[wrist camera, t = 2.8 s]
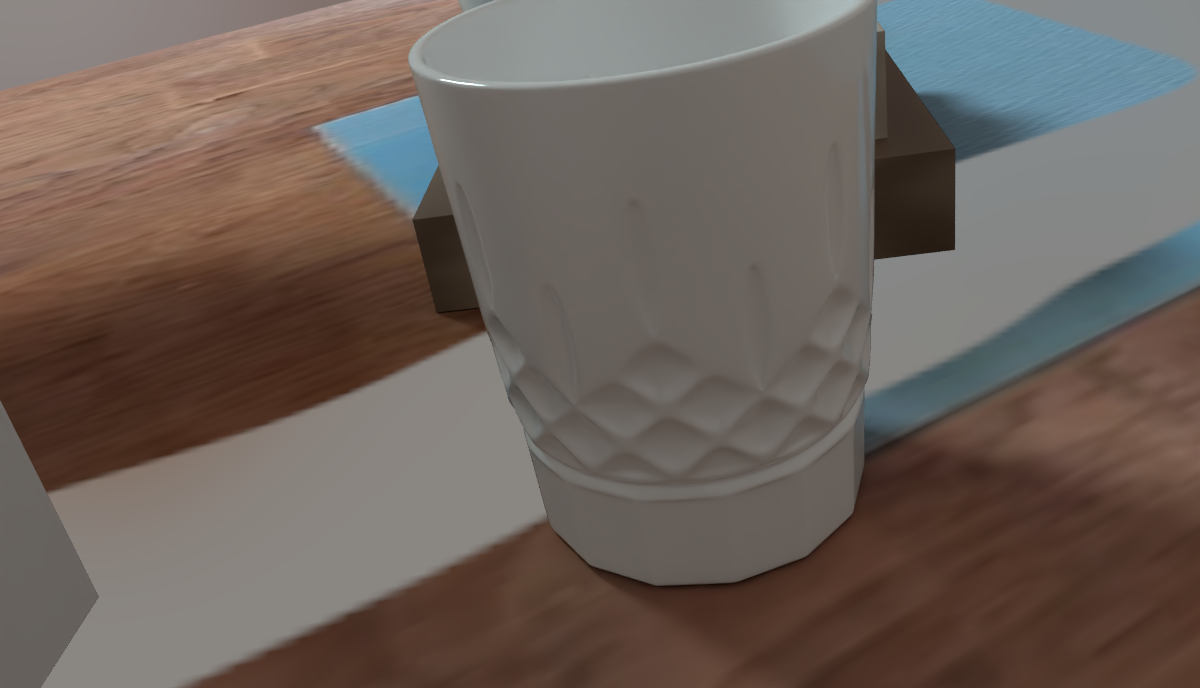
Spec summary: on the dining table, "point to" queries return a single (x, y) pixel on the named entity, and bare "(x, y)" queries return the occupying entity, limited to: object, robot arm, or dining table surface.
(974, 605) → the dining table surface
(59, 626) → the robot arm
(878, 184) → the block stand
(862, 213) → the white cup
